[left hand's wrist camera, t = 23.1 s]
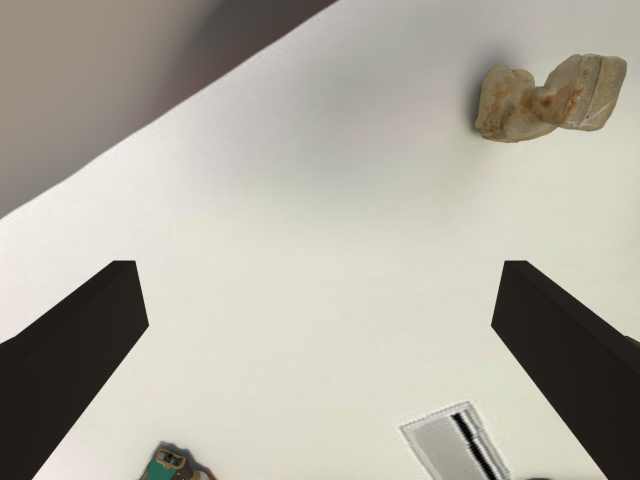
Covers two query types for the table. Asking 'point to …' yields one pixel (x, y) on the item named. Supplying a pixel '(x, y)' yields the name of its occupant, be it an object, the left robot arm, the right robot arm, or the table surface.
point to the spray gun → (171, 468)
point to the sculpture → (549, 98)
